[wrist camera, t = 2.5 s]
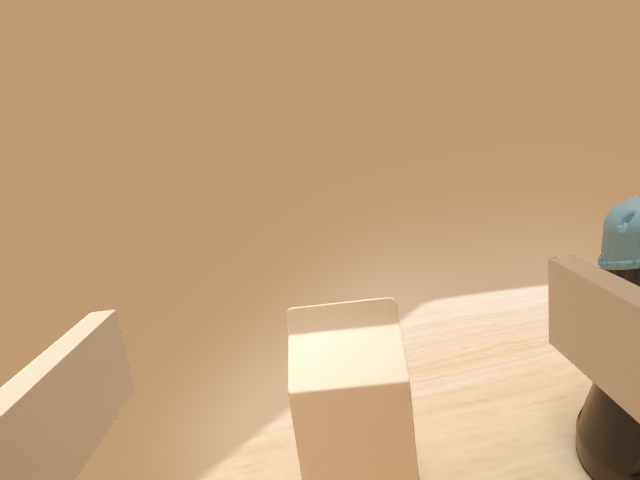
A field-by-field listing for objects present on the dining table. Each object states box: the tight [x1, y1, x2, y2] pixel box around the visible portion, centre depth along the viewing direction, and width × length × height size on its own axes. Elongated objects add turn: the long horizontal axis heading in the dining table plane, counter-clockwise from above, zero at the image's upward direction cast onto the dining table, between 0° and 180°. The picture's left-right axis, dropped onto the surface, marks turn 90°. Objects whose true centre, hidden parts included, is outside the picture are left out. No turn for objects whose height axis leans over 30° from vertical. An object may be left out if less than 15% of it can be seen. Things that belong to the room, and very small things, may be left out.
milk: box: [286, 297, 419, 480], centre depth 28 cm, size 6×6×22 cm
